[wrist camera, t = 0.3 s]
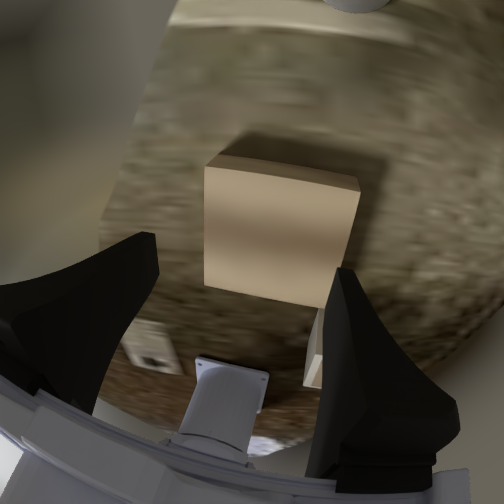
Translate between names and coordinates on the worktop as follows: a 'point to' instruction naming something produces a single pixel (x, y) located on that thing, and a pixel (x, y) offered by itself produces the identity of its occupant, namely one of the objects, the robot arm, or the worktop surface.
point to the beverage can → (357, 5)
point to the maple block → (276, 228)
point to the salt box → (314, 354)
